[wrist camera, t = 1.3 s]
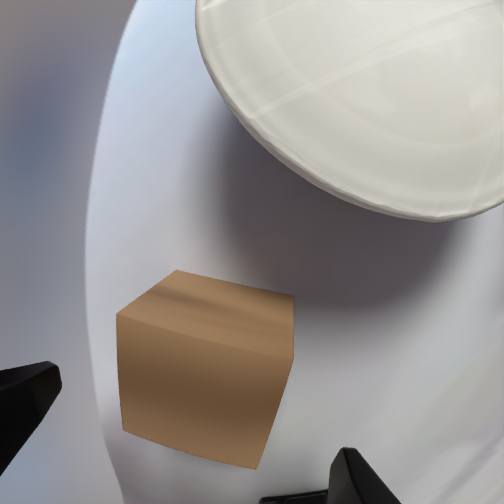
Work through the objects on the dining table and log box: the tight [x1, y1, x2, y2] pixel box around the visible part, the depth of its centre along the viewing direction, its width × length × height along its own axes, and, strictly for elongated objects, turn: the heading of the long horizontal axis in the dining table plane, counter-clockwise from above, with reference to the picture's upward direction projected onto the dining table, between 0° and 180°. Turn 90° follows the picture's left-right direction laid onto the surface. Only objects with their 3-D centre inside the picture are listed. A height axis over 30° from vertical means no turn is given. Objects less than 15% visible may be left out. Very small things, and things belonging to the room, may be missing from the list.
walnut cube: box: [116, 270, 294, 469], centre depth 11 cm, size 5×5×5 cm
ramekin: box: [195, 0, 504, 223], centre depth 8 cm, size 11×11×5 cm
